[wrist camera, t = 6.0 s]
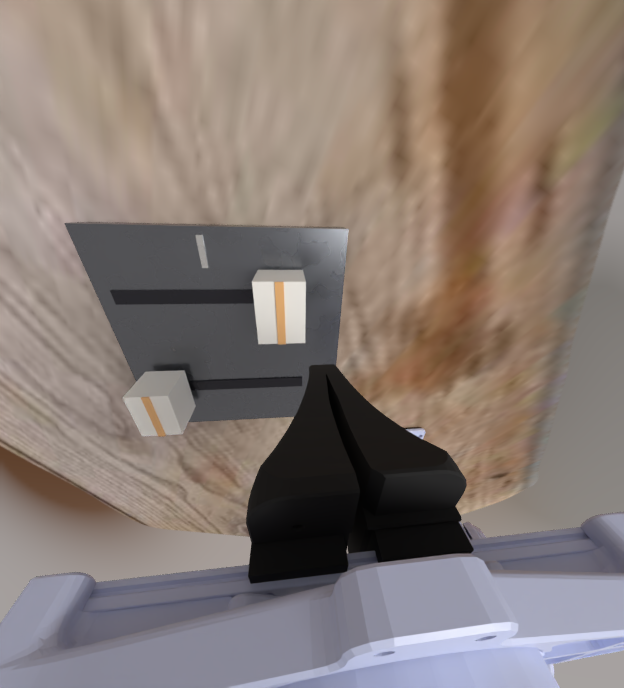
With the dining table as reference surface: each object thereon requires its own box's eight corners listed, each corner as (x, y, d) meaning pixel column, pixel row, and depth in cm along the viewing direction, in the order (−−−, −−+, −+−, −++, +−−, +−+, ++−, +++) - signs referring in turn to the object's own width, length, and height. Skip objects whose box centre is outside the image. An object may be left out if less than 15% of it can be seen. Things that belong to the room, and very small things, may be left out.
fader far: (195, 406, 21) (182, 435, 18) (160, 407, 20) (141, 437, 18) (184, 370, 19) (167, 396, 16) (145, 371, 18) (121, 398, 16)
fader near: (302, 323, 18) (305, 343, 15) (262, 324, 17) (258, 344, 15) (302, 269, 16) (305, 282, 13) (257, 269, 15) (251, 282, 13)
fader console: (329, 403, 25) (331, 415, 23) (162, 412, 23) (155, 424, 22) (343, 227, 16) (348, 229, 15) (83, 221, 15) (63, 223, 13)
